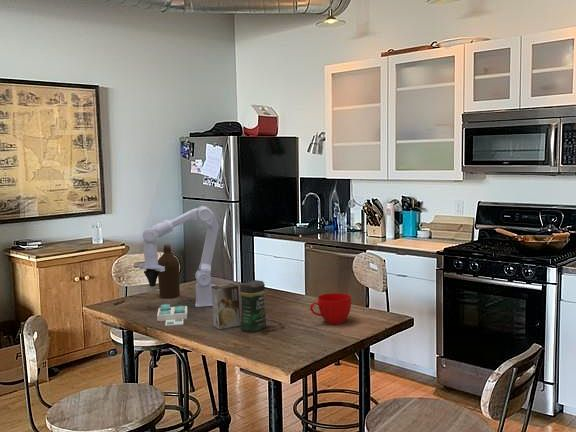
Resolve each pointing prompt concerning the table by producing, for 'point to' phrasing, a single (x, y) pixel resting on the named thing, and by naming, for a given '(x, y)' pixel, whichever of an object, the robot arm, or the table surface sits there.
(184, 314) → the button board
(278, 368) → the table surface
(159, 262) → the olive oil
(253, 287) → the coffee jar
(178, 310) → the button
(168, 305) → the button
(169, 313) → the button
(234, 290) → the coffee box
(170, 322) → the card
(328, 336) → the table surface
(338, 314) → the ceramic cup
